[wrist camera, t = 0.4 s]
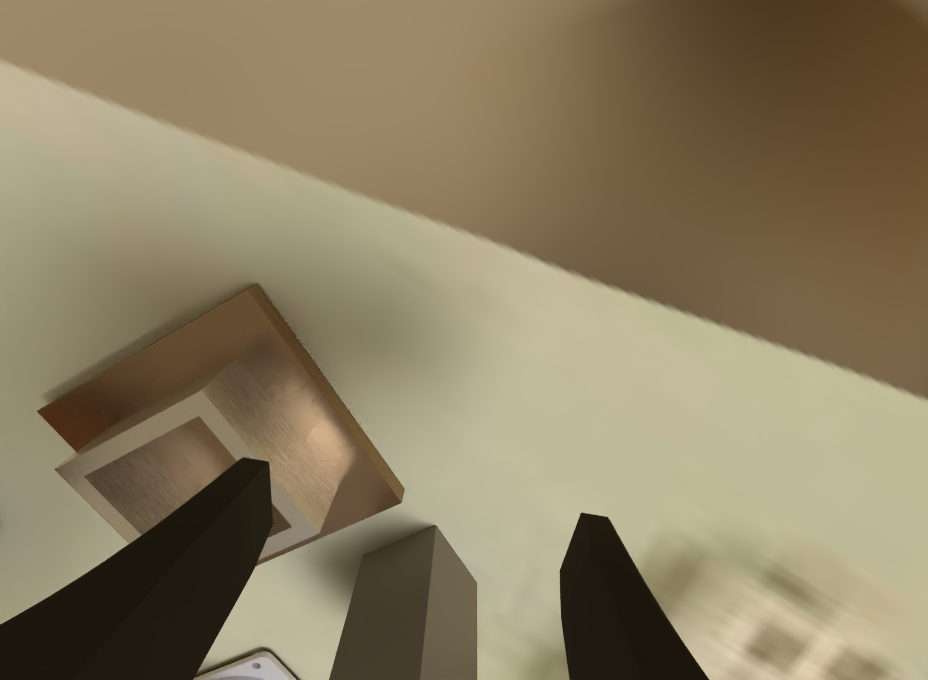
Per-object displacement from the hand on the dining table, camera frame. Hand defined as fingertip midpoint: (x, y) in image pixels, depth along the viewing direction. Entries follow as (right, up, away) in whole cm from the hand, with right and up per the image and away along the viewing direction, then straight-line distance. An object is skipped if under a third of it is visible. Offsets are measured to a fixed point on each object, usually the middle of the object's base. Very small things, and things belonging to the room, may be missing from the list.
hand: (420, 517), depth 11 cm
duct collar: (-10, -1, +12) cm, 16 cm away
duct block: (-1, -8, +15) cm, 17 cm away
